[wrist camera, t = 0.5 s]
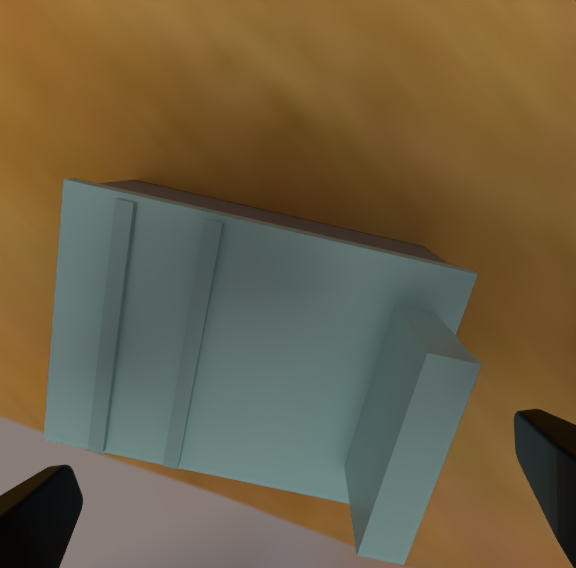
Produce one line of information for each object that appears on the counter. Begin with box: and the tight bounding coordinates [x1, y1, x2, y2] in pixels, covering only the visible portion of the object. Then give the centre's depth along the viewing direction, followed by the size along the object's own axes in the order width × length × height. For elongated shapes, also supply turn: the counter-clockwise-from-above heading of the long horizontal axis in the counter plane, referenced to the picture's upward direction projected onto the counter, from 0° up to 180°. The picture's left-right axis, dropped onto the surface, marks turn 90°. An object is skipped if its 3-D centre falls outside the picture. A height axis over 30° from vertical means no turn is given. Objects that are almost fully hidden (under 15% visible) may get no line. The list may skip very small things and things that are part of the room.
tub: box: [98, 180, 448, 264], centre depth 19 cm, size 14×10×5 cm
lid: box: [44, 178, 482, 565], centre depth 15 cm, size 14×10×6 cm
